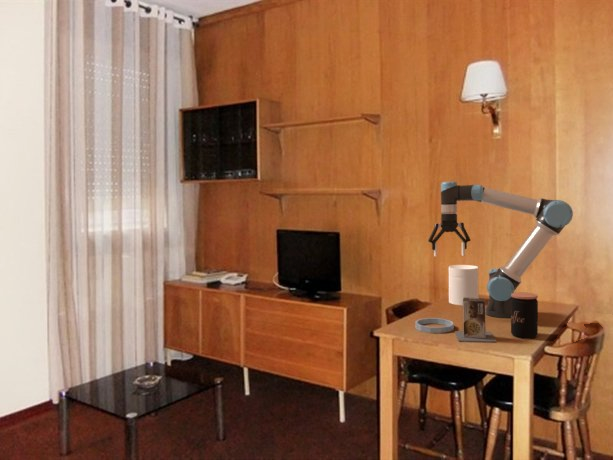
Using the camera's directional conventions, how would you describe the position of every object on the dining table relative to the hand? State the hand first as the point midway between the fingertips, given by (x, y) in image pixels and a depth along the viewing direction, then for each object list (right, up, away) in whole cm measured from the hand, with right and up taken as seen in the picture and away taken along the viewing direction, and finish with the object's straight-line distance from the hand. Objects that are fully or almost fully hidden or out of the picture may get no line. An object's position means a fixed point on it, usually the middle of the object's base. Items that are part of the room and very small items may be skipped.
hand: (449, 256), depth 253 cm
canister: (+18, -28, +35) cm, 48 cm away
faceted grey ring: (-11, -32, -16) cm, 38 cm away
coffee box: (+2, -33, -32) cm, 46 cm away
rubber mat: (+2, -33, -32) cm, 46 cm away
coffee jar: (+23, -33, -32) cm, 51 cm away
